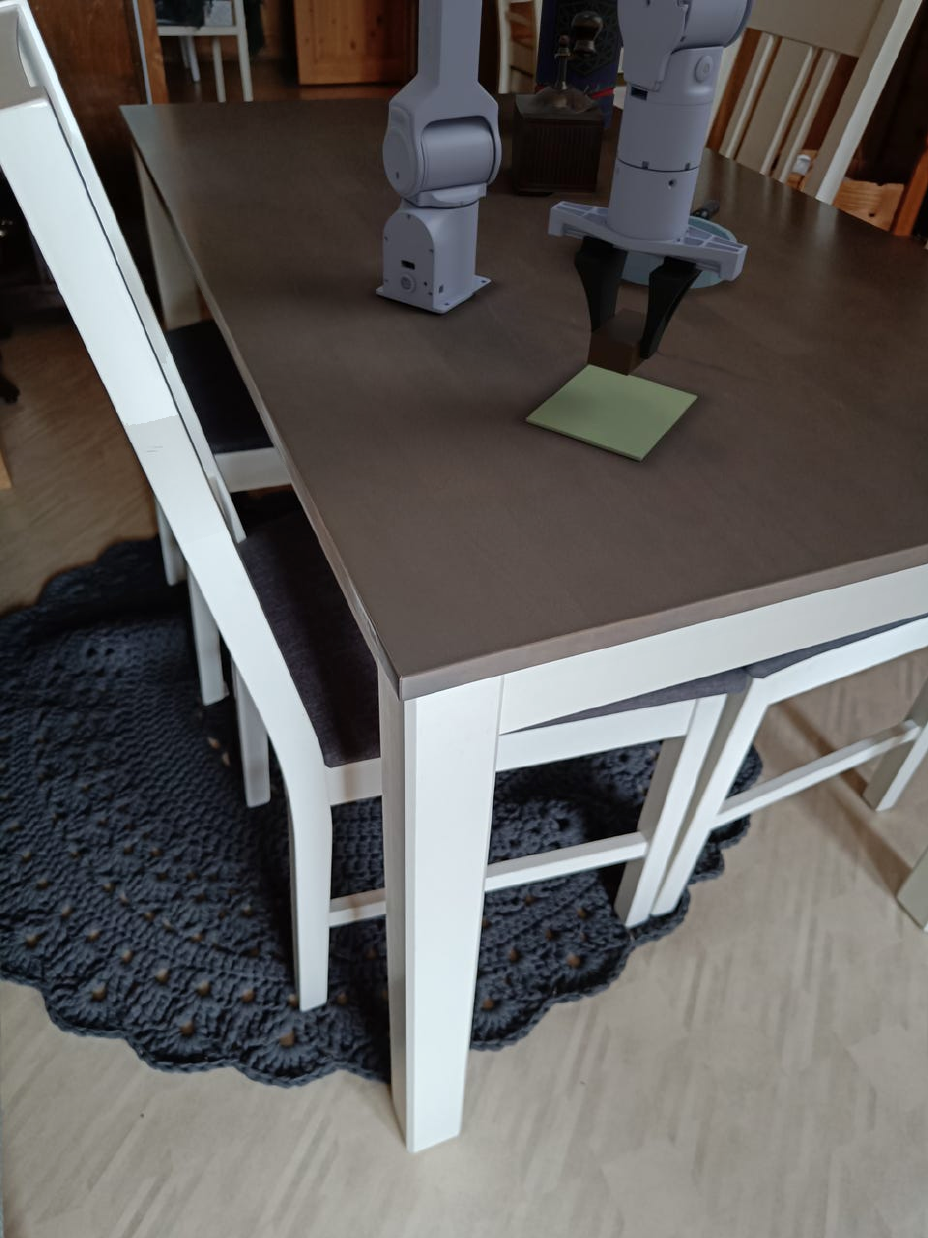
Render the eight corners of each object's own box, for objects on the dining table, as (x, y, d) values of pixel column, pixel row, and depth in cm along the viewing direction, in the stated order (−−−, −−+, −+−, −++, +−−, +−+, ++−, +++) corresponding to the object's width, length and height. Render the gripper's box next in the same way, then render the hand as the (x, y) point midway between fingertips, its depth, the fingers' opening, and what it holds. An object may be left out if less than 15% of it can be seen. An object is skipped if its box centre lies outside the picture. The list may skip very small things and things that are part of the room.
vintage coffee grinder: (601, 198, 115) (625, 31, 103) (515, 195, 114) (529, 27, 102) (583, 161, 126) (602, 8, 114) (504, 158, 125) (516, 3, 113)
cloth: (640, 461, 69) (640, 457, 69) (525, 421, 73) (525, 418, 72) (696, 398, 77) (697, 395, 76) (590, 365, 80) (591, 362, 80)
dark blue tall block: (615, 143, 134) (654, -117, 114) (535, 141, 133) (560, -123, 113) (598, 119, 144) (631, -125, 124) (524, 116, 143) (545, -130, 123)
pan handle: (694, 235, 102) (698, 218, 100) (680, 231, 102) (683, 214, 101) (719, 215, 107) (723, 199, 106) (705, 212, 107) (708, 196, 106)
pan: (700, 305, 91) (708, 271, 89) (571, 270, 96) (575, 237, 94) (746, 262, 101) (755, 230, 98) (627, 232, 106) (632, 201, 104)
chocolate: (627, 376, 69) (633, 345, 67) (586, 363, 70) (591, 333, 68) (658, 348, 73) (664, 318, 71) (618, 336, 74) (623, 307, 72)
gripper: (778, 167, 62) (730, 353, 71) (587, 127, 67) (565, 306, 76) (745, 192, 57) (698, 388, 66) (543, 148, 62) (525, 335, 72)
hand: (624, 346), depth 71 cm, fingers closed on chocolate, 3 cm apart
